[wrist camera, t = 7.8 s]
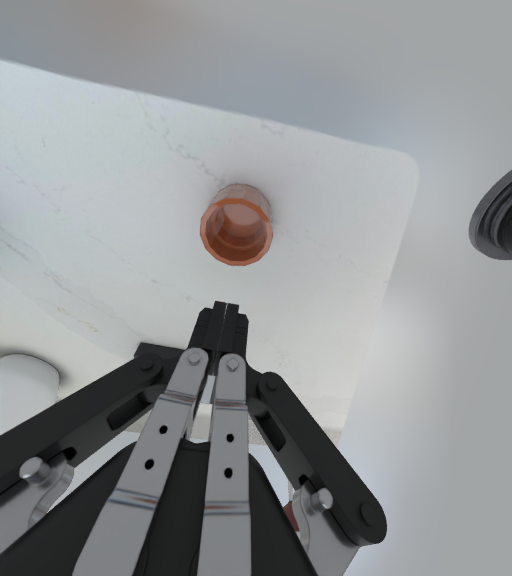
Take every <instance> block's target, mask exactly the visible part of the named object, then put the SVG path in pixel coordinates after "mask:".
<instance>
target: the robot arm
mask: <svg viewBox="0 0 512 576" xmlns="http://www.w3.org/2000/svg"><path fill="white" fill-rule="evenodd" d="M490 238H491V241H492V242H493V244H494V245H495V246H496V247H498V248H499V249H501V250H503V251H505V252H507V253H510V254H512V195H511V196H510V197H509V198H508V199H507V200H506V201H505V202H504V203H503V204H502V206H501V207H500V208H499V210H498V211H497V213H496V215H495V217H494V219H493V221H492V224H491V228H490ZM226 305H227V309H226ZM238 309H239V305H236V304H231V303H228V304H227V303H225V302H219V301H215V303H214V307H213V309H211V308H204V309H203V310H202V311H201V312H200V313H199V316H198V319H197V322H196V325H195V327H194V330H193V333H192V336H191V339H190V342H189V345H188V347H187V349H186V350H185V351H184V352H183V353H182V354H181V355H179V356H176V357H172V358H165V359H162V358H161V357H160V356H159V355H157V354H155V353H145V354H142V355H140V356H138V357H136V358H134V359H133V360H131V361H129V362H127V363H126V364H124V365H122V366H120V367H119V368H117V369H115V370H113V371H112V372H110V373H108V374H106V375H105V376H103V377H101V378H99V379H98V380H96V381H94V382H92V383H91V384H89V385H87V386H85V387H84V388H82V389H80V390H79V391H77V392H75V393H73V394H72V395H70V396H68V397H66V398H65V399H63V400H61V401H59V402H58V403H56V404H54V405H52V406H51V407H49V408H47V409H45V410H44V411H42V412H40V413H38V414H37V415H35V416H33V417H31V418H30V419H28V420H26V421H24V422H23V423H21V424H19V425H17V426H16V427H14V428H12V429H10V430H9V431H7V432H5V433H3V434H2V435H0V576H343V574H344V572H345V571H346V569H347V568H348V566H349V564H350V563H351V561H352V559H353V558H354V556H355V554H356V553H357V551H358V549H359V548H360V547H362V546H366V545H372V544H377V543H380V542H382V541H383V540H384V538H385V536H386V532H387V523H386V517H385V514H384V511H383V509H382V507H381V505H380V504H379V502H378V501H377V499H376V498H375V497H374V495H373V494H372V493H371V491H370V490H369V489H368V488H367V486H366V485H365V484H364V482H363V481H362V480H361V479H360V477H359V476H358V475H357V474H356V472H355V471H354V470H353V468H352V467H351V466H350V465H349V463H348V462H347V461H346V459H345V458H344V457H343V456H342V455H341V453H340V452H339V450H338V449H337V448H336V447H335V445H334V444H333V443H332V441H331V440H330V439H329V438H328V436H327V435H326V434H325V432H324V431H323V430H322V429H321V427H320V426H319V425H318V424H317V422H316V421H315V420H314V418H313V417H312V416H311V415H310V413H309V412H308V411H307V409H306V408H305V407H304V406H303V404H302V403H301V402H300V400H299V399H298V398H297V397H296V395H295V394H294V393H293V391H292V390H291V389H290V388H289V386H288V385H287V384H286V383H285V381H284V380H283V379H282V378H281V376H279V375H278V374H276V373H274V372H266V373H264V374H262V373H260V372H258V371H256V370H254V369H252V368H251V367H250V366H249V365H248V363H247V361H246V345H247V334H248V323H249V321H248V319H247V316H246V315H245V314H239V313H238ZM225 311H226V314H225ZM224 317H225V318H224ZM223 322H224V323H223ZM216 356H217V357H216ZM215 360H216V363H215ZM214 365H215V369H214ZM213 370H214V375H213V376H217V377H216V383H215V388H214V395H213V404H212V413H211V421H210V429H209V436H208V442H203V443H193V442H191V441H189V440H190V437H191V433H192V428H193V425H194V421H195V418H196V415H197V412H198V408H199V405H200V402H201V399H202V396H203V392H204V389H205V386H206V384H207V379H208V375H210V376H212V374H213ZM152 408H153V409H152ZM151 409H152V411H151V413H150V415H149V417H148V420H147V422H146V424H145V426H144V428H143V430H142V432H141V434H140V436H139V439H138V441H136V442H133V443H131V444H130V445H128V446H126V447H125V448H123V449H122V450H120V451H119V452H118V453H117V454H116V455H114V457H112V458H111V459H110V460H109V461H107V462H106V463H105V464H104V465H103V466H102V467H100V468H99V469H98V470H97V471H96V472H95V473H93V475H91V476H90V477H89V478H88V479H86V480H85V481H84V482H83V483H82V484H81V485H79V486H78V487H77V488H76V489H75V490H74V491H73V492H71V493H70V494H69V495H68V496H67V497H66V498H64V499H63V500H62V501H61V502H60V503H59V504H58V505H56V506H55V507H54V508H53V509H52V510H50V511H49V512H48V510H49V508H50V507H51V506H52V504H53V503H54V502H55V501H56V500H57V499H58V498H59V497H60V496H61V495H62V494H63V493H64V492H65V491H66V490H67V488H68V487H69V485H70V483H71V481H72V479H73V476H74V468H75V467H77V466H78V465H79V464H80V463H82V462H83V461H84V460H86V459H87V458H88V457H90V456H91V455H92V454H94V453H95V452H96V451H97V450H98V449H100V448H101V447H102V446H104V445H105V444H106V443H108V442H109V441H110V440H112V439H113V438H114V437H115V436H117V435H118V434H120V433H121V432H122V431H124V430H125V429H126V428H127V427H129V426H130V425H131V424H133V423H134V422H135V421H137V420H138V419H139V418H141V417H142V416H143V415H144V414H146V413H147V412H148V411H150V410H151ZM248 413H249V415H250V417H251V419H252V421H253V422H254V424H255V426H256V427H257V429H258V430H259V432H260V434H261V435H262V437H263V439H264V440H265V442H266V444H267V445H268V447H269V449H270V450H271V452H272V453H273V455H274V457H275V458H276V460H277V462H278V463H279V465H280V467H281V468H282V470H283V471H284V473H285V475H286V477H287V478H288V480H289V481H290V483H291V485H292V486H293V488H294V490H295V492H294V494H293V498H292V509H293V514H294V517H295V519H296V521H297V523H298V527H299V531H300V539H299V537H298V536H297V534H296V532H295V530H294V528H293V526H292V524H291V522H290V520H289V518H288V516H287V514H286V513H285V511H284V509H283V507H282V505H281V503H280V501H279V499H278V497H277V495H276V493H275V491H274V490H273V488H272V486H271V484H270V482H269V480H268V478H267V476H266V474H265V472H264V470H263V469H262V467H261V465H260V464H259V463H258V461H257V460H256V459H255V458H254V457H253V456H252V455H251V454H250V453H248ZM47 512H48V513H47ZM46 513H47V514H46Z"/></svg>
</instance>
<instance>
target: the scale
mask: <svg viewBox="0 0 512 576" xmlns="http://www.w3.org/2000/svg"><path fill="white" fill-rule="evenodd" d="M184 351H185V350H181V349H175V348H169V347H163V346H157V345H152V344H146V343H140V345H139V347H138V349H137V350H136V352H135V354H134V358H136V357H138V356H140V355H142V354H145V353H155V354H157V355H159V356H160V357H161V358H162V359H165V358H172V357H176V356H179V355H181V354H182V353H183V352H184ZM216 357H217V356H216ZM215 363H216V360H215ZM214 369H215V365H214ZM213 375H214V370H213V374H212V376H210V375H208V379H207V384H206V386H205V389H204V392H203V396H202V399H201V402H200V403H203V404H213V395H214V388H215V383H216V377H217V376H213Z"/></svg>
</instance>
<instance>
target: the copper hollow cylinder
mask: <svg viewBox="0 0 512 576" xmlns="http://www.w3.org/2000/svg"><path fill="white" fill-rule="evenodd" d="M200 236H201V239H202V241H203V244H204V246H205V249H206V250H207V251H208V252H209V253H210V254H211V255H212V256H213V257H214V258H215V259H217V260H218V261H221V262H223V263H225V264H228V265H231V266H246V265H249V264H251V263H254V262H256V261H258V260H260V259H261V258H262V257H263V256H264V254H265V253H266V252H267V251H268V250H269V247H270V244H271V241H272V237H273V229H272V215H271V210H270V204H269V203H268V201H267V200H266V198H265V197H264V196H263V194H262V193H261V192H260V191H258V190H256V189H254V188H252V187H250V186H248V185H230V186H228V187H227V188H225V189H223V190H221V191H220V192H218V194H217V195H216V197H215V198H214V200H213V201H212V203H211V204H210V206H209V207H208V209H207V210H206V212H205V214H204V215H203V217H202V218H201V226H200Z"/></svg>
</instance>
